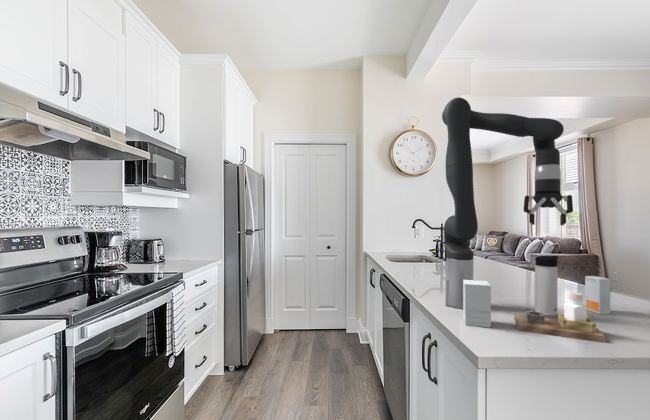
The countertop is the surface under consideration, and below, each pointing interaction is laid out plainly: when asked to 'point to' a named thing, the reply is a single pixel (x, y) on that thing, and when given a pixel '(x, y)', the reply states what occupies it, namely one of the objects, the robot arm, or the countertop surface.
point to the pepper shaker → (575, 308)
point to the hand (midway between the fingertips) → (547, 225)
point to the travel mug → (546, 285)
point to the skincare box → (597, 294)
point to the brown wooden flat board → (558, 326)
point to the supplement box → (477, 303)
